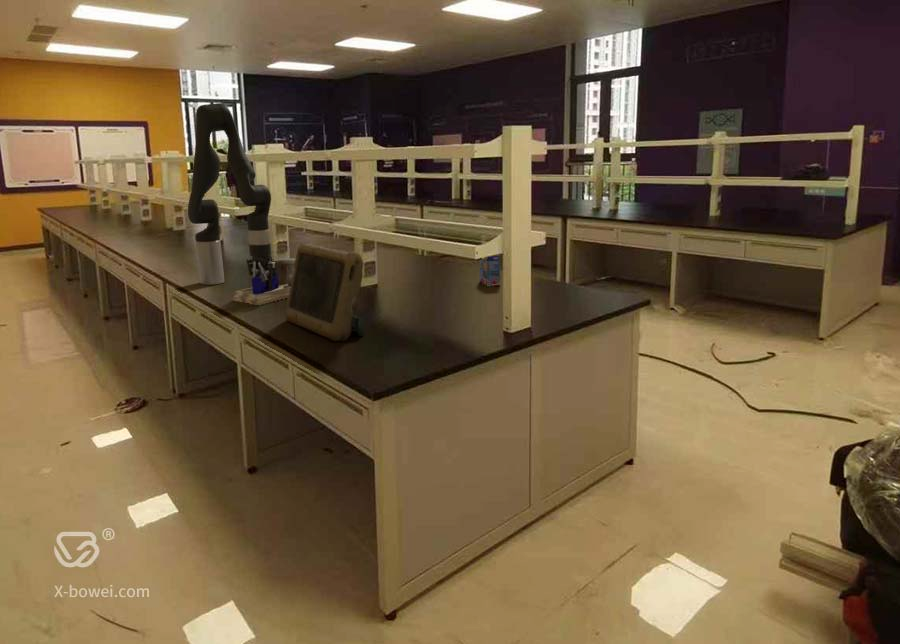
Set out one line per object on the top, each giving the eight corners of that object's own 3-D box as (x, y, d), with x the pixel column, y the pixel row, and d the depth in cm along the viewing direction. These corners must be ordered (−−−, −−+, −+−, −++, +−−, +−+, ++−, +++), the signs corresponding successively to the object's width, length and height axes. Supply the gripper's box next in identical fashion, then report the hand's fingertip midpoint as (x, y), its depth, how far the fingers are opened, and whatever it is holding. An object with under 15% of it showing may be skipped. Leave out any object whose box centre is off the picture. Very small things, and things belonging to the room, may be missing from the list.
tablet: (276, 322, 204) (269, 243, 197) (313, 314, 213) (308, 239, 206) (336, 344, 181) (331, 256, 175) (375, 334, 191) (372, 250, 184)
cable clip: (268, 287, 241) (266, 271, 240) (278, 288, 240) (277, 272, 238) (249, 294, 230) (247, 278, 229) (260, 295, 229) (258, 278, 227)
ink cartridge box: (478, 282, 260) (478, 246, 256) (491, 281, 261) (491, 245, 257) (487, 287, 251) (487, 249, 247) (500, 285, 252) (501, 249, 248)
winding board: (233, 300, 233) (229, 267, 229) (291, 286, 254) (288, 256, 250) (258, 305, 225) (255, 271, 222) (315, 291, 246) (313, 259, 243)
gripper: (238, 242, 231) (242, 288, 236) (264, 245, 223) (268, 293, 227) (255, 239, 237) (259, 284, 241) (281, 242, 229) (285, 289, 233)
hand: (263, 288), depth 234 cm, fingers closed on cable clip, 5 cm apart
